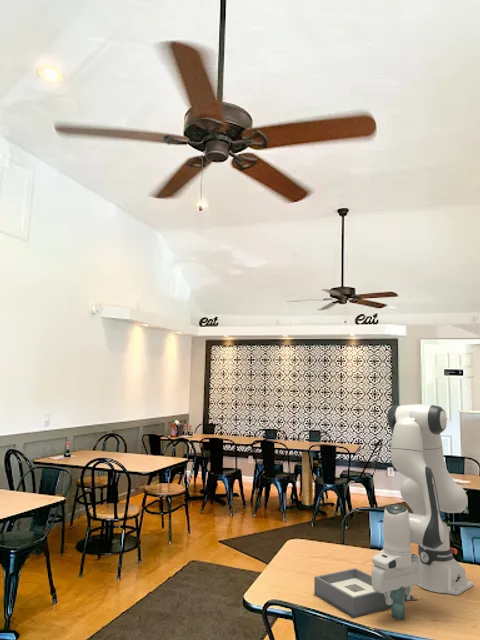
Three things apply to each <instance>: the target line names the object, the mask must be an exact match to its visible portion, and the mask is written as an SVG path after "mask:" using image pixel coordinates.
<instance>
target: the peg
mask: <svg viewBox="0 0 480 640" xmlns="http://www.w3.org/2000/svg"><path fill="white" fill-rule="evenodd" d="M391 593H392V599H393V604H392V608H391V617H392V619H394V620H397V621H404V620H405V619H406V617H405V613H406V612H405V610H406V609H405V601H404V586H402V587H400V589H397V590H393V591H391Z"/></svg>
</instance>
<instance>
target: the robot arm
mask: <svg viewBox="0 0 480 640" xmlns="http://www.w3.org/2000/svg"><path fill="white" fill-rule="evenodd" d="M386 415H387V416H386V418H387V419H386V421H387V424H388V426H389V428H390V429H391V430H392V434H391V435H392V436H391V443H390V459H391V460H390V461H391V464H392V466H393V467H394V469H395V470H396V471H397V472H398V473H400V474H401V475H402V476H404V477H405V479H404V480H403V481H402V483H401V485H400V488H399V490H400V496H401V498H402V500H403V501H404V503H406V504H407V505H408V506H409V508H410V509H411V510H412V513H411V512H409V511H408V508H407V507H406V506H405V505H401V504H389V505H387V506H386V507H385V508H384V512H383V521H382V534H383V539H384V540H383V545H382V549H381V550H380V551H379V552H377V553H376V554H375V555H373V556H372V557H371V563H372V565H373V566H372V569H371V576H372V587H373V589H374V590H375V591H377V592H379V593H383V594H384V596H385V598H386V604H387V605H392V604H393V599H392V598H390V595H389V594H391V591H393V590H397V589H400V587H402V586H404V588H405V587H406V588H405V592H404V600H405V601H406V602H407V601H411V600H410V594H411V595H412V591H413V586H416V585H417V586H418V587H420V588H421V589H424V590H427V591H430V592H434V593H441V594H442V593H443V594H449V595H455V596H456V595H457V596H458V595H460V594H461V593H463V592H465V591H467V590H469V589H470V588H472V587H473V586H474V583H473V582H472V581H471V580H469V579H467V574H466V570H465V567H464V566H463V565H462V564H460V562H459V561H457V560H456V559H455V558H454V555H457V554H458V549H456V548H454V547H450V545H451V544H450V529H449V527H448V525H447V523H446V522H444V521H443V519H442V515H441V512H443V513H449V514H457V513H458V514H461V513H462V512H464V511H465V509H467V506H468V495H467V493H466V491H465V489H464V488H463V487H462V486H460V485H459V484H458V483H457V482H456V481H455V479H453V477H452V475H450V473H449V471H448V469H447V466H446V461H445V456H444V449H443V448H444V447H443V441H442V437H441V433H444V431H445V430H446V428H447V425H448V424H447V422H448V418H447V414H446V411H445V409H443V407H441V406H440V405H439V406H438V405H435V404H431V405H428V404H421V403H416V404H396V405H392V406H390V408H389V409H388V410H387V414H386ZM410 543H411V544H415V545H417V553H412V547H411V544H410ZM453 554H454V555H453Z"/></svg>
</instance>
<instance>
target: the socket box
mask: <svg viewBox="0 0 480 640" xmlns="http://www.w3.org/2000/svg"><path fill="white" fill-rule="evenodd" d="M313 587H314V592H313V593H314V596H316V597H318V598H319V599H321V600H322V601H324V602H326V603H328V604H329V605H331V606H333V607H334V608H336V609H338V610H339V611H340V612H343V613H344V614H346V615H348V616H349V617H351V618H353V619H355V618H359V617H362V616H366V615H370V614H373V613H378V612H380V611H385V610H388V609H392V605H387V604H386V598H385V596H384V594H383V593H379V592H377V591H375V590H374V589H373V587H372V574H368V573H366V572H364V571H362V570H360V569H358V568H356V567H354V568H349V569H346V570H340V571H336V572H332V573H331V572H330V573H325V574H322V575H321V574H320V575H317V576H314V585H313ZM389 595H390V598H392V593H391V594H389Z"/></svg>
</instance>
